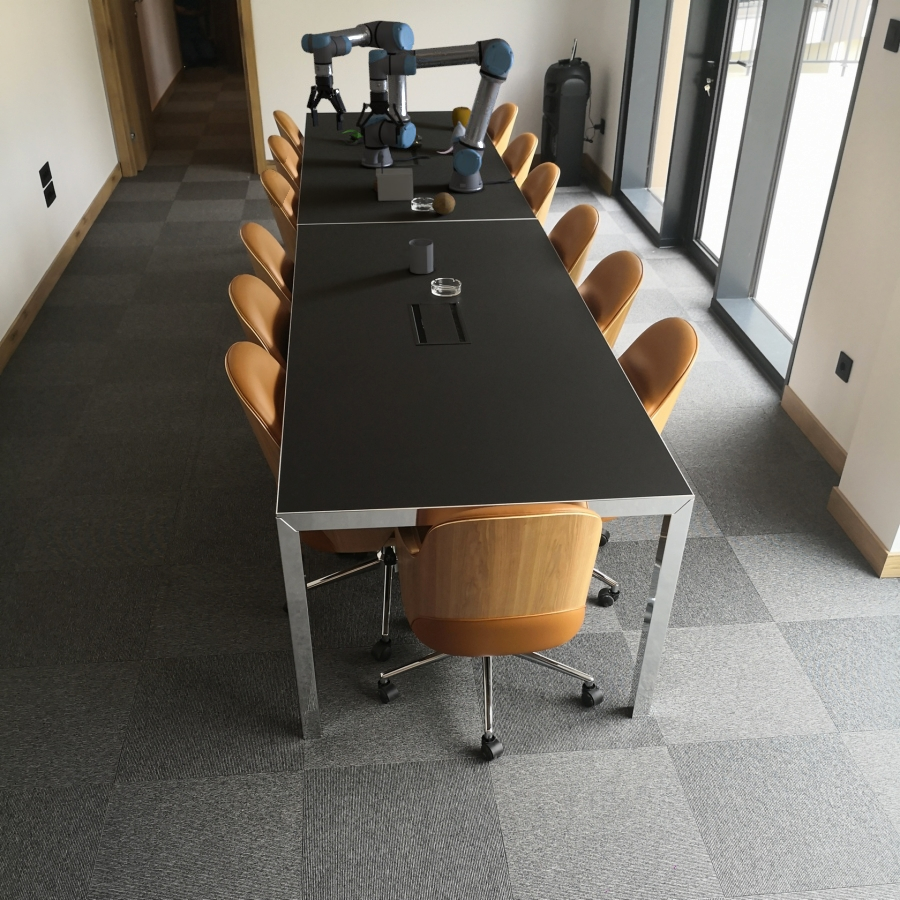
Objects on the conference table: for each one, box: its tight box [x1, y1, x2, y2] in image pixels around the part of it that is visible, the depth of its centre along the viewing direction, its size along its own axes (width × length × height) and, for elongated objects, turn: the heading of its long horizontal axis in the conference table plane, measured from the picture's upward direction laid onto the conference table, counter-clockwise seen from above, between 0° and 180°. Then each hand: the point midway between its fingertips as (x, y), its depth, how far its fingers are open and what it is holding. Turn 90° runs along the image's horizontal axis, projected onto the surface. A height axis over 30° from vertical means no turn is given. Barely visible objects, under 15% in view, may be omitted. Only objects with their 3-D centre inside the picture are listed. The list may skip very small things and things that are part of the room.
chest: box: [376, 175, 414, 202], centre depth 380 cm, size 15×10×10 cm, turn 94°
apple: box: [451, 105, 471, 129], centre depth 487 cm, size 11×11×13 cm
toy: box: [437, 121, 466, 155], centre depth 440 cm, size 9×24×15 cm, turn 137°
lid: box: [375, 150, 414, 178], centre depth 375 cm, size 16×10×9 cm, turn 94°
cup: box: [408, 237, 434, 275], centre depth 305 cm, size 8×8×10 cm
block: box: [372, 179, 378, 193], centre depth 391 cm, size 4×4×4 cm
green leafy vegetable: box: [340, 129, 364, 146], centre depth 465 cm, size 6×13×30 cm
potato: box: [431, 192, 456, 216], centre depth 360 cm, size 10×14×8 cm
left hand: (327, 128), depth 372 cm, fingers open, 13 cm apart
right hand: (380, 143), depth 370 cm, fingers open, 13 cm apart
